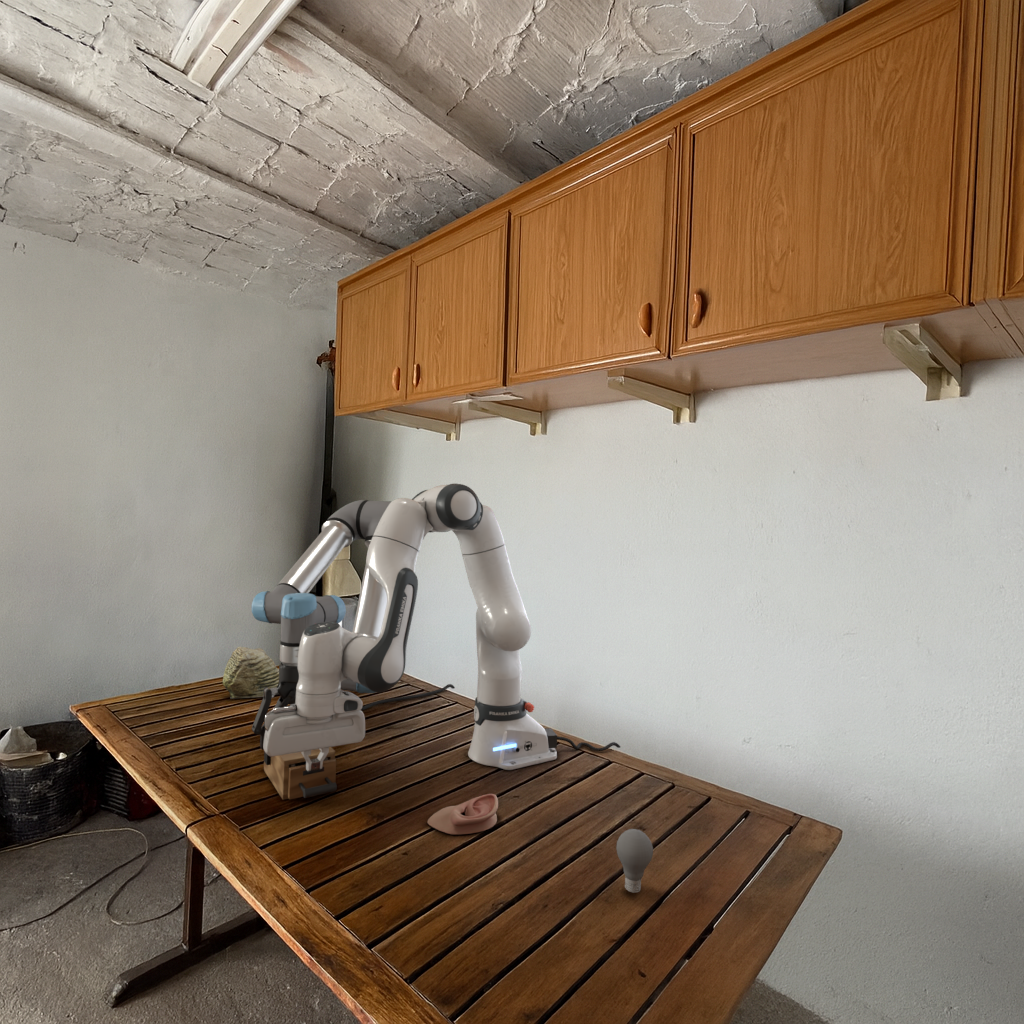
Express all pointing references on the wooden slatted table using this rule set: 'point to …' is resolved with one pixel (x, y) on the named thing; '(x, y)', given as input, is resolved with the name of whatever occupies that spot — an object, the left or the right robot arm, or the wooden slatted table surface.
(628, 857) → the light bulb
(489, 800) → the anatomical model
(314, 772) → the drawer
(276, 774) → the cabinet
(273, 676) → the fossil
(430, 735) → the wooden slatted table surface
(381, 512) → the left robot arm
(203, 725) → the wooden slatted table surface
